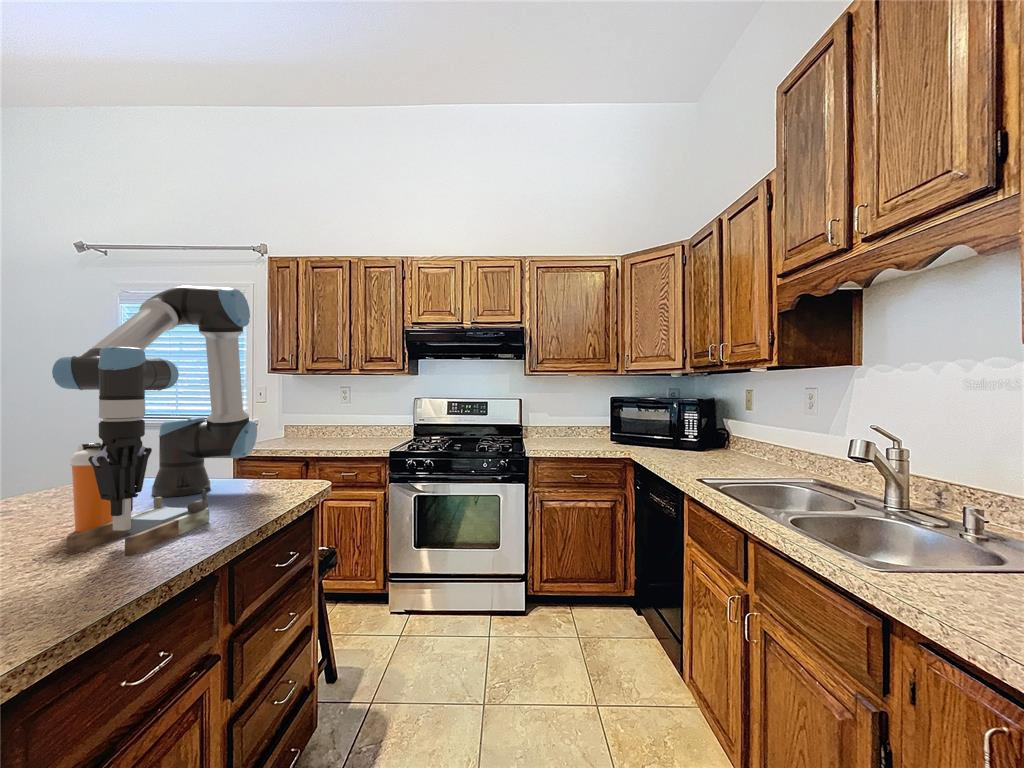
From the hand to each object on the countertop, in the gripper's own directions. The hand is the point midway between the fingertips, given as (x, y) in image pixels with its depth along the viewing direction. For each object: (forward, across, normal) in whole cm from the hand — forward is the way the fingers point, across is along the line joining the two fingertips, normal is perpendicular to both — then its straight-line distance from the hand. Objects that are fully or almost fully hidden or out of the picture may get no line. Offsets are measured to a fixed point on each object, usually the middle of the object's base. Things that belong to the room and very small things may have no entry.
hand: (121, 529), depth 98 cm
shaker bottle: (+4, -11, -16) cm, 20 cm away
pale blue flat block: (+4, -11, 0) cm, 12 cm away
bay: (+4, -6, 0) cm, 7 cm away
